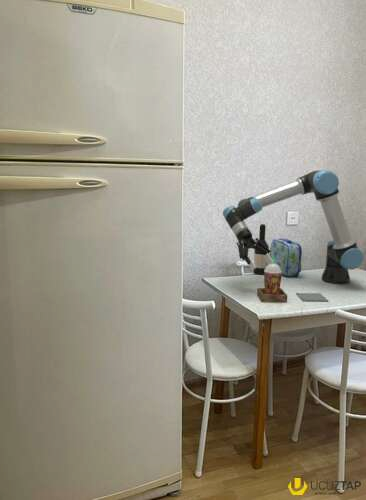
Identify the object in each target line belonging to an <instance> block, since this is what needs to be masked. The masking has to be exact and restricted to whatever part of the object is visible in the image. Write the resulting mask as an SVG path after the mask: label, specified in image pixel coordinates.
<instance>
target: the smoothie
mask: <svg viewBox="0 0 366 500" xmlns="http://www.w3.org/2000/svg"><path fill="white" fill-rule="evenodd" d="M282 276H283V275H282V271H281V268H280V267H279V266H278V265H277V264H274V258H273V263H272V264H268V266H267V267H266V268H265V270H264V275H263V278H264V279H263V281H264V282H263V283H264V287H263V288H264V291H265V294H270V295H279V291H280V288H281V281H282Z"/></svg>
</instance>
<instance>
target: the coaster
mask: <svg viewBox="0 0 366 500" xmlns="http://www.w3.org/2000/svg"><path fill="white" fill-rule="evenodd" d="M295 294H296V296H298V298H299V299H300V300H301V301H302V302H307V303H309V302H310V303H311V302H317V303H318V302H319V303H321V302H324V303H326V302H327V303H328V302H329V299H328V298H326V296H324V295H323V294H321V292H318V293H317V292H316V293H315V292H296V293H295Z"/></svg>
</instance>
